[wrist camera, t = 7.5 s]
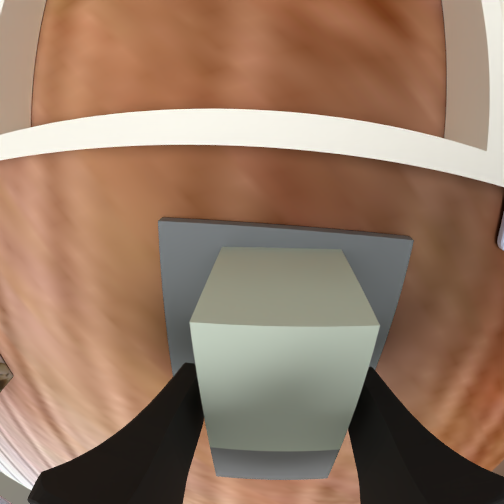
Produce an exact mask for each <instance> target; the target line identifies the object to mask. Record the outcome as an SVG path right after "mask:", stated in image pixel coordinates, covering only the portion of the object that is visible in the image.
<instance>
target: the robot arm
mask: <svg viewBox="0 0 504 504" xmlns="http://www.w3.org/2000/svg"><path fill="white" fill-rule="evenodd" d="M497 243H498V246H499V248H501V249H502V250H504V213H503V217H502V222H501V226H500V231H499V235H498V240H497ZM203 421H204V413H203V407H202V402H201V396H200V390H199V384H198V378H197V372H196V365H195V363H186V362H185V363H184V364H183V365H182V366H181V368H180V369H179V370H178V371H177V373H176V374H175V375H174V376H173V378H172V379H171V380H170V381H169V382H168V384H167V385H166V386H165V387H164V388H163V389H162V391H161V392H160V393H159V394H158V395H157V396H156V397H155V398H154V399H153V400H152V402H151V403H150V404H149V405H148V406H147V407H146V408H144V409H143V410H142V411H141V412H140V413H139V414H138V415H137V416H136V417H135V418H134V419H133V420H132V421H131V422H129V423H128V424H127V425H126V426H125V427H123V428H122V429H121V430H120V431H118V432H117V433H116V434H114V435H113V436H112V437H110V438H109V439H107V440H106V441H104V442H103V443H101V444H100V445H98V446H97V447H95V448H93V449H92V450H90V451H88V452H86V453H84V454H82V455H81V456H79V457H77V458H75V459H73V460H71V461H69V462H66V463H64V464H62V465H59V466H56V467H54V468H51V469H49V470H46V471H43V472H41V474H40V476H39V477H38V479H37V481H36V483H35V485H34V487H33V489H32V491H31V493H30V495H29V497H28V502H29V503H30V504H183V498H184V492H185V486H186V481H187V476H188V472H189V469H190V465H191V462H192V459H193V456H194V452H195V449H196V446H197V442H198V439H199V436H200V432H201V429H202V425H203ZM348 431H349V435H350V440H351V444H352V449H353V453H354V458H355V463H356V467H357V472H358V478H359V486H360V501H361V504H504V477H503V476H500V475H498V474H495V473H493V472H491V471H489V470H486V469H484V468H482V467H480V466H478V465H476V464H474V463H472V462H471V461H469V460H467V459H466V458H464V457H462V456H461V455H459V454H458V453H456V452H455V451H453V450H452V449H450V448H449V447H448V446H446V445H445V444H444V443H442V442H441V441H440V440H439V439H437V438H436V437H435V436H434V435H433V434H431V433H430V432H429V431H428V430H427V429H426V428H425V427H424V426H423V425H422V424H421V423H420V422H419V421H418V420H417V419H416V418H415V417H414V416H413V415H412V414H411V413H410V412H409V411H408V410H407V409H406V408H405V406H404V405H403V404H402V403H401V402H400V401H399V399H398V398H397V397H396V396H395V395H394V394H393V392H392V391H391V390H390V389H389V387H388V386H387V385H386V384H385V382H384V381H383V380H382V379H381V377H380V376H379V375H378V374H377V372H376V371H375V370H374V369H373V367H369V368H368V371H367V374H366V377H365V381H364V384H363V387H362V390H361V393H360V396H359V399H358V402H357V405H356V408H355V411H354V413H353V416H352V419H351V422H350V424H349V427H348ZM0 504H12V503H11V502H9V501H8V500H6V499H5V498H3V497H2V496H0Z"/></svg>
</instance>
